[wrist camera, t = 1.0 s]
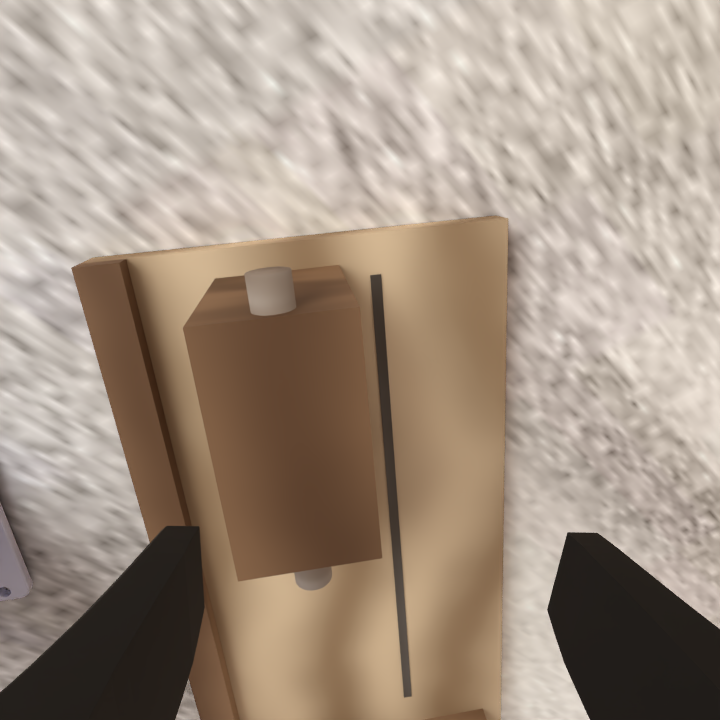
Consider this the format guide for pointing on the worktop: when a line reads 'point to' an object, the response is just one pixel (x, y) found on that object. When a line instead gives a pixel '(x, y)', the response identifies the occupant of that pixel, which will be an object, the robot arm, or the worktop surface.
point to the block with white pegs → (287, 420)
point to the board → (391, 463)
